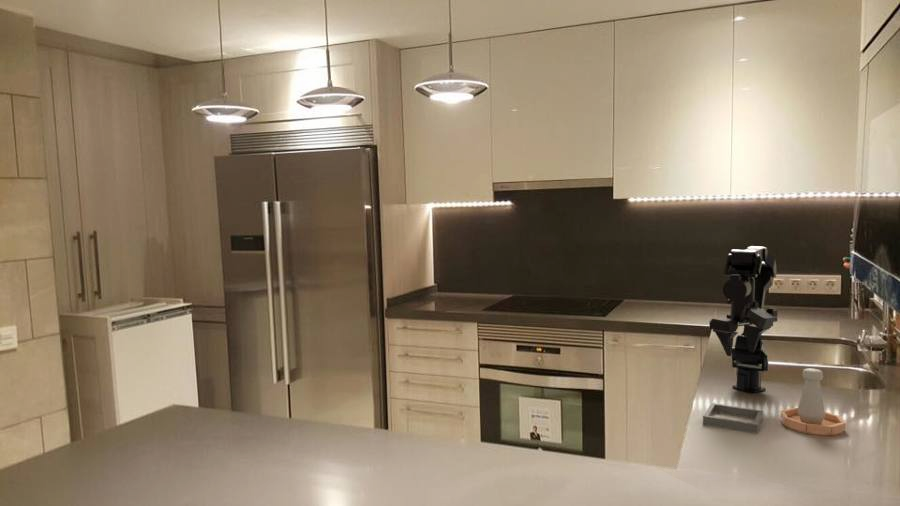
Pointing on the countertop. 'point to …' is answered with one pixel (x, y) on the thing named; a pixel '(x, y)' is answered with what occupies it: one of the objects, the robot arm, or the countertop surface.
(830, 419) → the terracotta dish
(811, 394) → the salt shaker
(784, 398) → the countertop surface
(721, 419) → the charcoal tray
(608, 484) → the countertop surface
